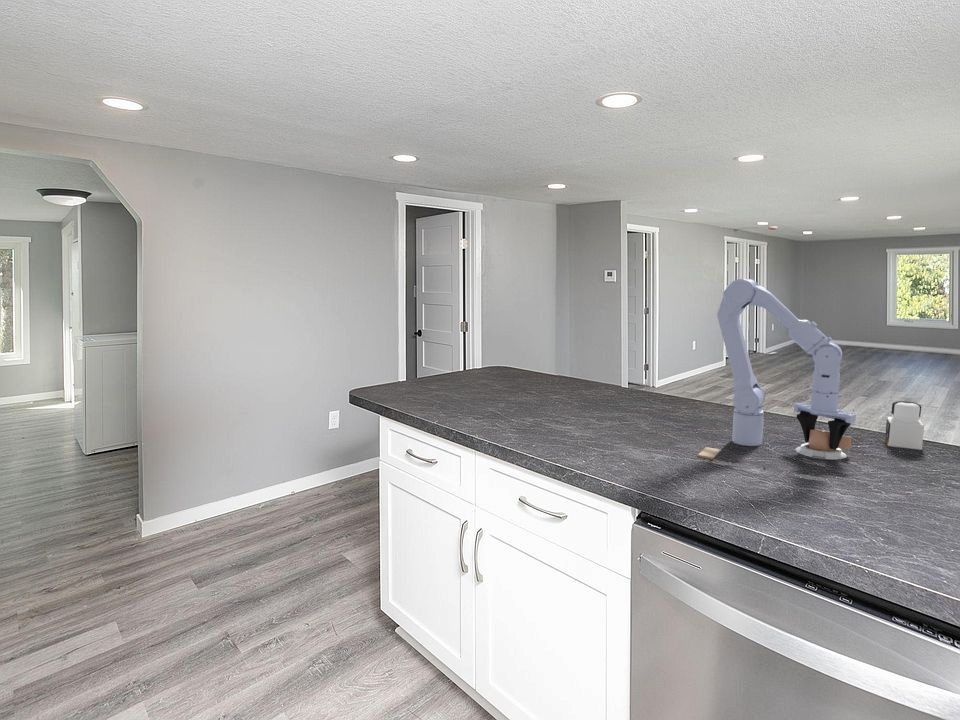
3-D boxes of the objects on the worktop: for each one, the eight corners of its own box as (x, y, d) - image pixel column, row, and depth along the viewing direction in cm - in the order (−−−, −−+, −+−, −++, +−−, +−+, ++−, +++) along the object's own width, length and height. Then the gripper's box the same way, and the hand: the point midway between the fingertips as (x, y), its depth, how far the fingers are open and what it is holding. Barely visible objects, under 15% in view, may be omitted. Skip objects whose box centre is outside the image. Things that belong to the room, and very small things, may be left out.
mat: (705, 448, 148) (705, 447, 148) (738, 454, 144) (738, 452, 143) (697, 456, 142) (697, 454, 142) (731, 462, 137) (732, 460, 137)
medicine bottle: (884, 442, 153) (888, 398, 151) (917, 445, 149) (922, 401, 148) (887, 448, 147) (891, 403, 145) (921, 452, 143) (926, 406, 142)
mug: (806, 449, 141) (809, 429, 141) (808, 447, 146) (811, 427, 145) (848, 457, 136) (851, 436, 136) (849, 454, 141) (852, 434, 140)
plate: (797, 446, 149) (798, 439, 149) (847, 453, 143) (848, 445, 143) (792, 457, 141) (793, 449, 140) (844, 465, 134) (845, 457, 134)
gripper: (787, 388, 144) (783, 439, 146) (844, 398, 131) (839, 454, 133) (805, 385, 147) (802, 436, 149) (863, 395, 134) (858, 451, 136)
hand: (821, 444), depth 141 cm, fingers closed on mug, 6 cm apart
